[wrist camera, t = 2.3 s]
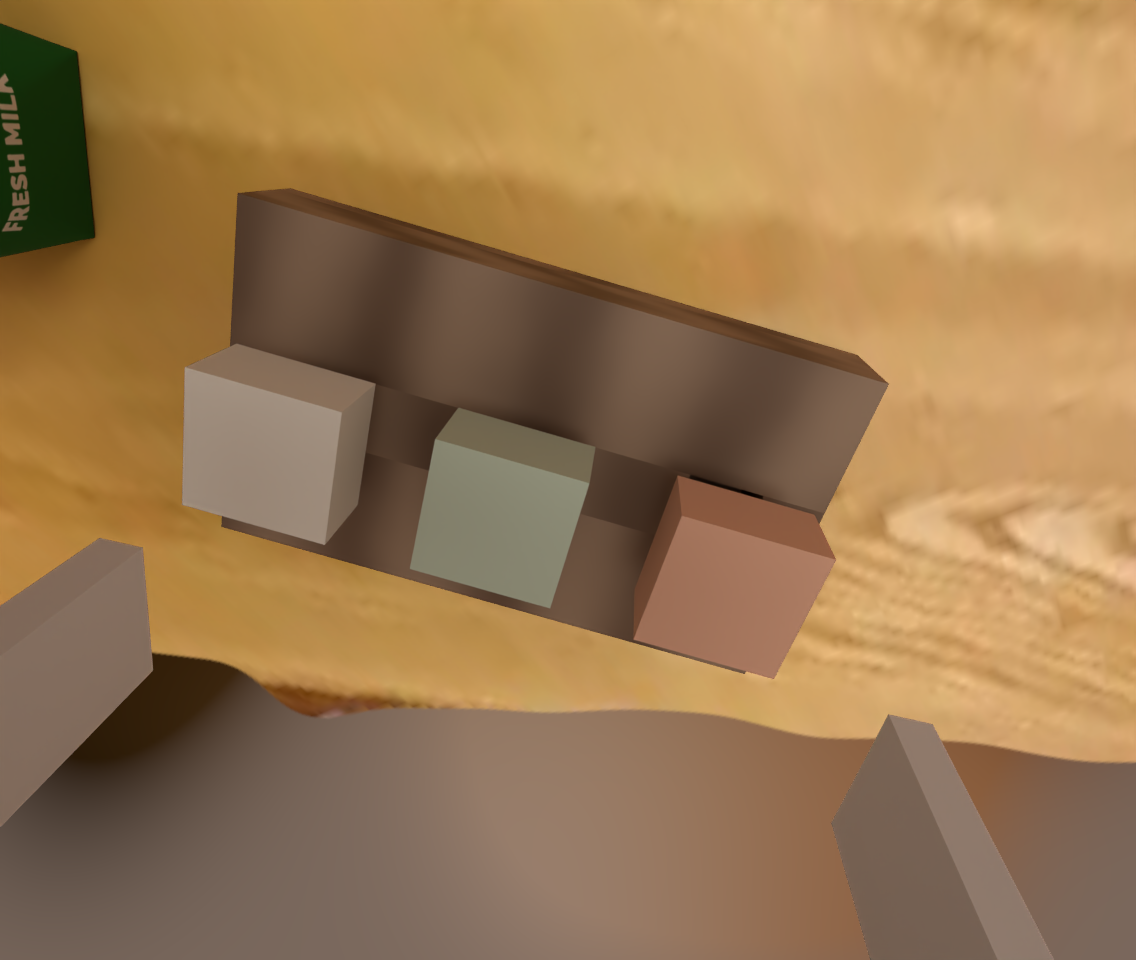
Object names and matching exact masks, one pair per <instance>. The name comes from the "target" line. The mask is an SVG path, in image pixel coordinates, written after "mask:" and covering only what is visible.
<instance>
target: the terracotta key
mask: <svg viewBox="0 0 1136 960" xmlns="http://www.w3.org/2000/svg"><path fill="white" fill-rule="evenodd" d="M835 561H836V559H835V556H834V554H833V552H832V550H831V548H830V546H829V544H828V542H827V540H826V538H825V536H824V533H823V531H822V529H821V527H820V525H819V523H818V521H817V519H816V517H815V515H813V514H810V513H807V512H803V511H800V510H796V509H793V508H789V507H786V506H782V505H779V504H775V503H772V502H768V501H765V500H761V499H758V498H754V497H751V496H747V495H744V494H741V493H737V492H734V491H730V490H727V489H723V488H720V487H716V486H713V485H709V484H706V483H702V482H699V481H695V480H692V479H688V478H685V477H681V476H677V478H676V481H675V484H674V486H673V489H672V492H671V494H670V497H669V499H668V502H667V505H666V507H665V510H664V513H663V515H662V518H661V521H660V523H659V526H658V529H657V531H656V534H655V537H654V539H653V542H652V545H651V547H650V550H649V552H648V555H647V558H646V560H645V563H644V566H643V568H642V571H641V574H640V576H639V579H638V582H637V584H636V587H635V590H634V637H633V640H637V641H640V642H644V643H647V644H651V645H655V646H658V647H662V648H665V649H669V650H672V651H676V652H679V653H683V654H687V655H690V656H694V657H697V658H701V659H704V660H708V661H711V662H715V663H718V664H722V665H726V666H729V667H733V668H736V669H740V670H743V671H747V672H750V673H754V674H758V675H761V676H765V677H768V678H772V679H774V678H775V676H776V674H777V672H778V670H779V668H780V666H781V664H782V662H783V660H784V659H785V657H786V655H787V653H788V651H789V649H790V647H791V645H792V643H793V641H794V640H795V638H796V636H797V634H798V632H799V630H800V628H801V626H802V624H803V622H804V620H805V619H806V617H807V615H808V613H809V611H810V609H811V607H812V605H813V603H814V601H815V599H816V598H817V596H818V594H819V592H820V590H821V588H822V586H823V584H824V582H825V580H826V578H827V577H828V575H829V573H830V571H831V569H832V567H833V565H834V563H835Z"/></svg>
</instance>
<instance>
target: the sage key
mask: <svg viewBox="0 0 1136 960" xmlns="http://www.w3.org/2000/svg"><path fill="white" fill-rule="evenodd" d="M594 453H595V447H594V446H590V445H587V444H583V443H580V442H576V441H573V440H569V439H566V438H562V437H559V436H556V435H552V434H549V433H545V432H542V431H538V430H535V429H531V428H528V427H524V426H521V425H517V424H514V423H510V422H507V421H503V420H500V419H497V418H493V417H490V416H486V415H483V414H479V413H476V412H472V411H469V410H465V409H462V408H458V409H457V410H456V412H455V413H454V414H453V416H452V417H451V418H450V420H449V421H448V422H447V424H446V425H445V427H444V428H443V429H442V431H441V432H440V433H439V435H438V436H437V437H436V439H435V443H434V448H433V453H432V458H431V463H430V468H429V473H428V478H427V483H426V489H425V494H424V499H423V504H422V509H421V514H420V519H419V524H418V529H417V534H416V539H415V545H414V550H413V555H412V560H411V565H410V569H412V570H415V571H419V572H422V573H426V574H430V575H433V576H437V577H440V578H444V579H447V580H451V581H454V582H458V583H462V584H465V585H469V586H472V587H476V588H479V589H483V590H486V591H490V592H493V593H497V594H501V595H504V596H508V597H511V598H515V599H518V600H522V601H525V602H529V603H532V604H536V605H540V606H543V607H547V608H550V607H551V604H552V601H553V598H554V594H555V591H556V588H557V585H558V582H559V579H560V575H561V572H562V569H563V566H564V563H565V559H566V556H567V553H568V550H569V547H570V544H571V540H572V537H573V534H574V531H575V528H576V525H577V521H578V518H579V515H580V512H581V509H582V506H583V502H584V499H585V496H586V493H587V490H588V487H589V483H590V477H591V471H592V465H593V459H594Z"/></svg>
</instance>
